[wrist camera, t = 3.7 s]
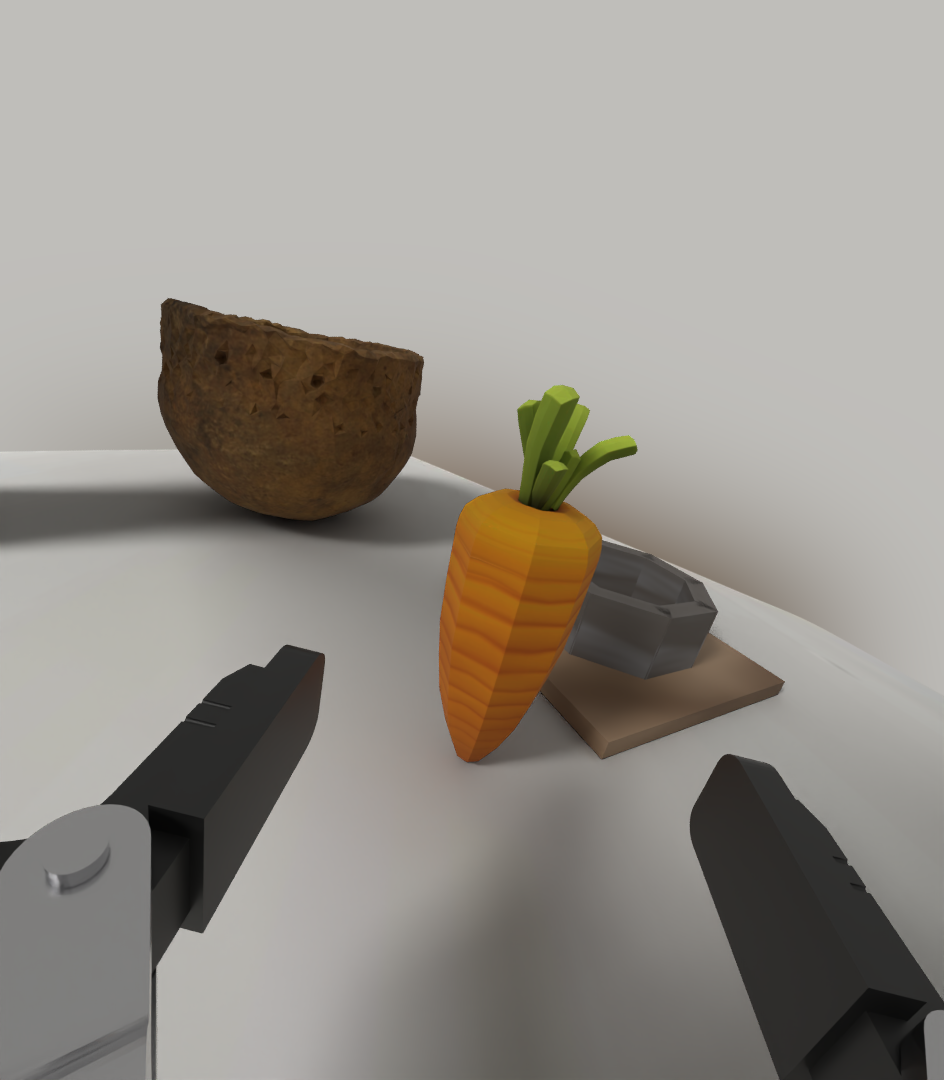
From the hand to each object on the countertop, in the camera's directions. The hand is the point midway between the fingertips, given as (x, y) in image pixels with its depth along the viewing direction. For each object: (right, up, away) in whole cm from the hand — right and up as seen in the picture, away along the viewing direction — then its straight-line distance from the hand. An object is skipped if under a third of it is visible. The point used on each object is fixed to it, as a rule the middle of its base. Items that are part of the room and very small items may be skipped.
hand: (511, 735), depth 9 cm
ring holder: (+8, -3, +22) cm, 24 cm away
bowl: (-16, +6, +31) cm, 35 cm away
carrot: (-1, -5, +10) cm, 11 cm away
